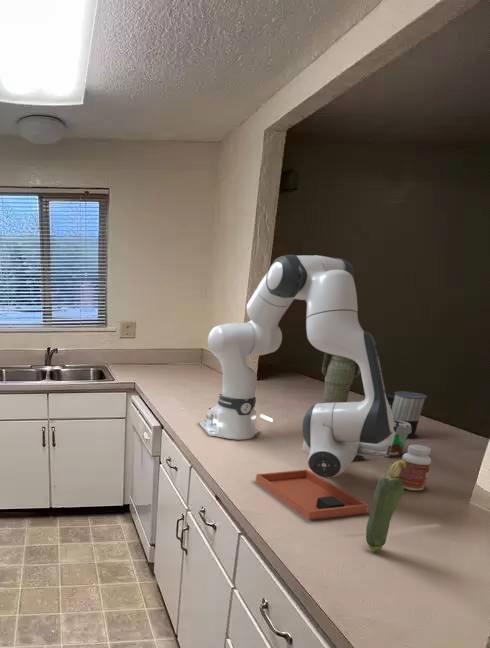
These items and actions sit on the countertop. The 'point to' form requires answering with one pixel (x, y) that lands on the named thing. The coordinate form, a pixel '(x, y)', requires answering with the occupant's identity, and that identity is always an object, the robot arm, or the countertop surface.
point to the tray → (309, 494)
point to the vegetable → (384, 506)
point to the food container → (398, 437)
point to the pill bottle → (415, 467)
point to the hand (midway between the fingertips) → (349, 434)
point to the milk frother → (407, 408)
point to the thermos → (338, 378)
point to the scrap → (328, 503)
